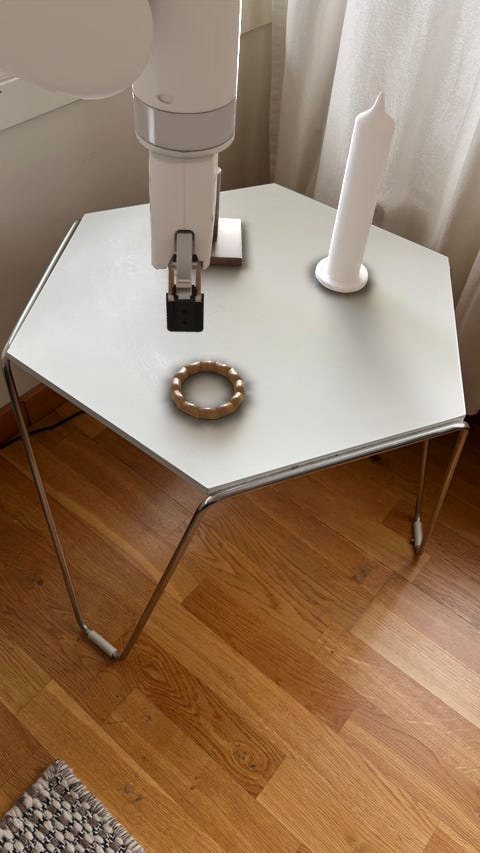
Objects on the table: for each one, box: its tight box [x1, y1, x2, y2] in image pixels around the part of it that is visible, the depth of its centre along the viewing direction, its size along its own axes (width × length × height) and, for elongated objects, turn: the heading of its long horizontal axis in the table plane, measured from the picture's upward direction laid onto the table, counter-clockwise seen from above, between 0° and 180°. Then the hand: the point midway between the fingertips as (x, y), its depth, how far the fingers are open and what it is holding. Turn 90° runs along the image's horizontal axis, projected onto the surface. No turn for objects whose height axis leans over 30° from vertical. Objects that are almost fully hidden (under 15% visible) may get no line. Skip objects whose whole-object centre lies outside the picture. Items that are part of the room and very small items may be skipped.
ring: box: [169, 360, 246, 420], centre depth 80 cm, size 8×8×1 cm
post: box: [209, 166, 243, 266], centre depth 94 cm, size 9×9×11 cm
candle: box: [315, 90, 396, 294], centre depth 86 cm, size 7×7×25 cm
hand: (186, 293), depth 66 cm, fingers open, 9 cm apart
